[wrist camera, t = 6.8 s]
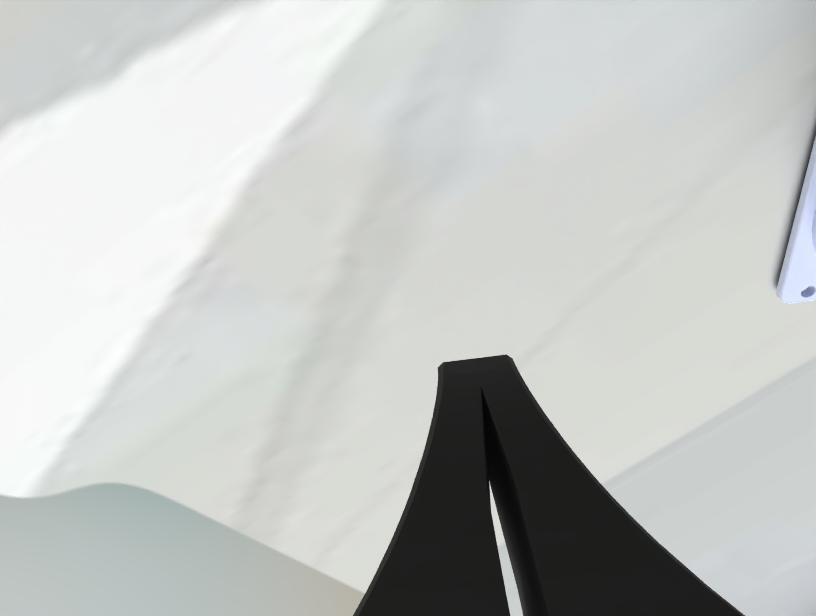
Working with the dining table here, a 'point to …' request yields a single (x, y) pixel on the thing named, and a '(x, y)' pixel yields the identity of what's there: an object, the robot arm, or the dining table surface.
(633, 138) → the dining table surface
